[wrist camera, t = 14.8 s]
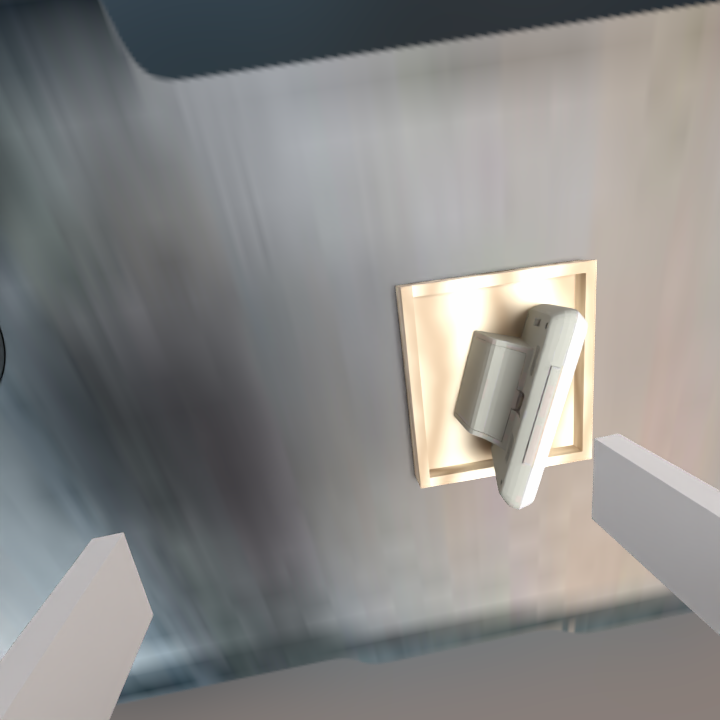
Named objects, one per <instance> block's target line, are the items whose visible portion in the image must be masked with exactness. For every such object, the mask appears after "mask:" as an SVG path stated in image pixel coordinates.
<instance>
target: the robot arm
mask: <svg viewBox="0 0 720 720" xmlns="http://www.w3.org/2000/svg"><path fill="white" fill-rule="evenodd" d="M3 364H4V347H3V341H2V337H1V333H0V378H1V374H2V370H3ZM592 519H593V520H594V521H595V522H596V523H597V524H598V525H599V526H601V527H602V528H603V529H604V530H605V531H606V532H607V533H608V534H609V535H610V536H611V537H613V538H614V539H615V540H616V541H617V542H618V543H619V544H620V545H621V546H622V547H623V548H625V549H626V550H627V551H628V552H629V553H630V554H631V555H632V556H633V557H634V558H635V559H637V560H638V561H639V562H640V563H641V564H642V565H643V566H644V567H645V568H646V569H647V570H649V571H650V572H651V573H652V574H653V575H654V576H655V577H656V578H657V579H658V580H660V581H661V582H662V583H663V584H664V585H665V586H666V587H667V588H668V589H669V590H670V591H672V592H673V593H674V594H675V595H676V596H677V597H678V598H679V599H680V600H681V601H682V602H684V603H685V604H686V605H687V606H688V607H689V608H690V609H691V610H692V611H693V612H694V613H696V614H697V615H698V616H699V617H700V618H701V619H702V620H703V621H704V622H705V623H706V624H708V625H709V626H710V627H711V628H712V629H713V630H714V631H715V632H716V633H717V634H719V635H720V491H719V490H718V489H716V488H714V487H712V486H711V485H709V484H707V483H705V482H704V481H702V480H700V479H698V478H696V477H695V476H693V475H691V474H689V473H688V472H686V471H684V470H682V469H681V468H679V467H677V466H675V465H673V464H672V463H670V462H668V461H666V460H665V459H663V458H661V457H659V456H658V455H656V454H654V453H652V452H651V451H649V450H647V449H645V448H643V447H642V446H640V445H638V444H636V443H635V442H633V441H631V440H629V439H628V438H626V437H624V436H622V435H620V434H614V435H609V436H604V437H599V438H595V441H594V469H593V498H592ZM152 617H153V613H152V610H151V607H150V604H149V602H148V599H147V596H146V593H145V591H144V588H143V585H142V582H141V580H140V577H139V574H138V571H137V569H136V566H135V563H134V560H133V557H132V555H131V552H130V549H129V546H128V544H127V541H126V538H125V535H124V533H118V534H113V535H108V536H103V537H98V538H93V539H92V540H91V541H90V542H89V544H88V545H87V546H86V548H85V549H84V550H83V552H82V553H81V554H80V556H79V557H78V558H77V560H76V561H75V562H74V564H73V565H72V566H71V568H70V569H69V570H68V572H67V573H66V574H65V576H64V577H63V578H62V580H61V581H60V582H59V584H58V585H57V586H56V588H55V589H54V590H53V592H52V593H51V594H50V596H49V597H48V598H47V600H46V601H45V602H44V604H43V605H42V606H41V608H40V609H39V610H38V612H37V613H36V614H35V616H34V617H33V618H32V619H31V621H30V622H29V623H28V625H27V626H26V627H25V629H24V630H23V631H22V633H21V634H20V635H19V637H18V638H17V639H16V641H15V642H14V643H13V645H12V646H11V647H10V649H9V650H8V651H7V653H6V654H5V655H4V657H3V658H2V659H1V661H0V720H109V719H110V717H111V714H112V712H113V710H114V707H115V705H116V703H117V700H118V698H119V695H120V693H121V691H122V688H123V686H124V684H125V681H126V679H127V676H128V674H129V672H130V669H131V667H132V665H133V662H134V660H135V657H136V655H137V653H138V650H139V648H140V646H141V643H142V641H143V639H144V636H145V634H146V631H147V629H148V627H149V624H150V622H151V620H152Z"/></svg>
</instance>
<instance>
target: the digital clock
mask: <svg viewBox="0 0 720 720" xmlns="http://www.w3.org/2000/svg"><path fill="white" fill-rule="evenodd" d="M587 328H588V323H587V321H586V320H585V319H584V317H583V316H582V315H581V314H580V313H579V311H578V310H576V309H573V308H568V307H563V306H557V305H552V304H539V305H536V306H534V307H532V308H531V309H530V310H529V311H528V314H527V317H526V320H525V324H524V328H523V331H522V335H521V338H520V337H514V336H508V335H502V334H496V333H490V332H484V331H478V330H475V331H474V335H473V339H472V343H471V347H470V351H469V355H468V359H467V363H466V367H465V371H464V376H463V380H462V384H461V388H460V392H459V396H458V400H457V404H456V408H455V412H454V417H455V418H456V419H457V420H458V421H459V422H460V424H461V425H462V426H463V427H464V428H465V429H466V430H467V431H468V432H469V433H471V434H472V435H475V436H478V437H481V438H483V439H486V440H488V441H490V442H492V445H491V453H492V459H493V464H494V469H495V474H496V480H497V485H498V490H499V493H500V495H501V496H502V498H503V499H504V500H505V502H506V503H507V504H508V505H510V506H511V507H513V508H515V509H521V508H523V507H525V506H527V505H529V504H531V503H532V502H533V501H534V498H535V496H536V492H537V489H538V486H539V483H540V480H541V477H542V474H543V471H544V468H545V464H546V461H547V458H548V455H549V452H550V448H551V445H552V442H553V439H554V436H555V432H556V429H557V426H558V423H559V420H560V416H561V413H562V410H563V407H564V404H565V401H566V397H567V394H568V391H569V388H570V385H571V381H572V378H573V375H574V372H575V369H576V365H577V362H578V359H579V356H580V353H581V349H582V346H583V343H584V339H585V336H586V332H587Z"/></svg>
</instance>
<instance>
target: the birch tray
mask: <svg viewBox="0 0 720 720" xmlns="http://www.w3.org/2000/svg"><path fill="white" fill-rule="evenodd" d="M596 273H597V260H576V261H569V262H561V263H554V264H547V265H540V266H533V267H526V268H519V269H511V270H504V271H497V272H490V273H483V274H476V275H468V276H461V277H454V278H447V279H440V280H433V281H426V282H418V283H411V284H404V285H397V286H395V287H396V297H397V306H398V316H399V325H400V335H401V345H402V354H403V364H404V373H405V383H406V392H407V402H408V412H409V421H410V431H411V440H412V450H413V459H414V469H415V476H416V478H417V480H418V483H419V485H420V487H421V488H426V487H432V486H438V485H444V484H449V483H455V482H461V481H467V480H472V479H478V478H484V477H489V476H495V475H496V474H495V469H494V464H493V459H492V453H491V445H492V442H490V441H488V440H486V439H483V438H481V437H478V436H475V435H472V434H471V433H469V432H468V431H467V430H466V429H465V428H464V427H463V426H462V425H461V424H460V422H459V421H458V420H457V419H456V418H455V417H454V412H455V408H456V404H457V400H458V396H459V392H460V388H461V384H462V380H463V376H464V371H465V367H466V363H467V359H468V355H469V351H470V347H471V343H472V339H473V335H474V331H475V330H478V331H484V332H490V333H496V334H502V335H508V336H514V337H520V338H521V335H522V331H523V328H524V324H525V320H526V317H527V314H528V311H529V310H530V309H531V308H532V307H534V306H536V305H539V304H552V305H557V306H563V307H568V308H573V309H576V310H578V311H579V313H580V314H581V315H582V316H583V317H584V319H585V320H586V321H587V323H588V328H587V332H586V336H585V339H584V343H583V346H582V349H581V353H580V356H579V359H578V362H577V365H576V369H575V372H574V375H573V378H572V381H571V385H570V388H569V391H568V394H567V397H566V401H565V404H564V407H563V410H562V413H561V416H560V420H559V423H558V426H557V429H556V432H555V436H554V439H553V442H552V445H551V448H550V452H549V455H548V458H547V461H546V464H545V467H547V466H552V465H558V464H564V463H569V462H575V461H581V460H587V459H592V425H593V387H594V349H595V311H596Z"/></svg>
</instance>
